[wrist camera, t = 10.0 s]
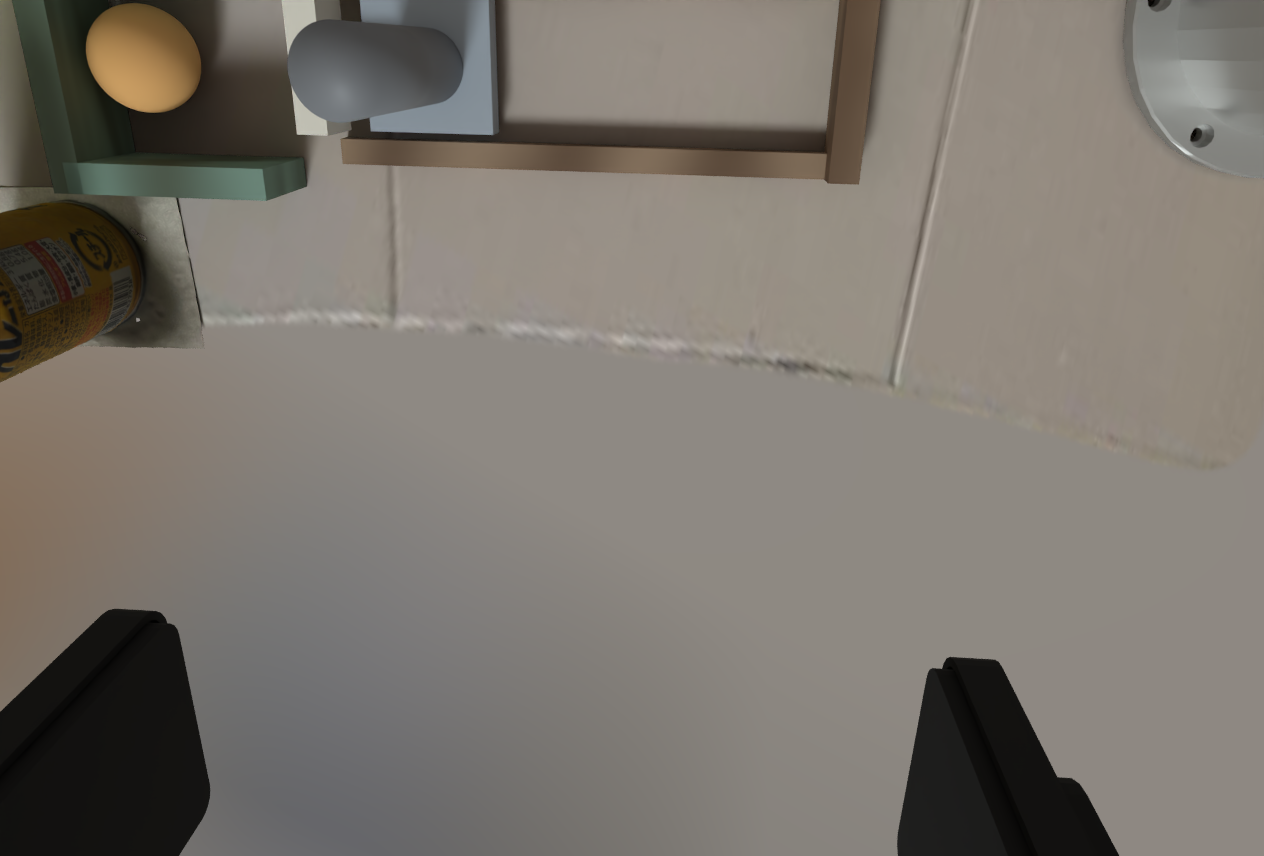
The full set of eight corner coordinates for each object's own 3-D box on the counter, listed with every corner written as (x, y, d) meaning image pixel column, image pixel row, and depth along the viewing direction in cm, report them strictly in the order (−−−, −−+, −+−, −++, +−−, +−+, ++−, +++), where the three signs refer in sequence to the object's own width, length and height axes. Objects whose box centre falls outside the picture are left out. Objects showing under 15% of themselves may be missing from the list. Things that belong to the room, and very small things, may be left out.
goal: (277, -77, 35) (228, -92, 32) (306, 186, 39) (266, 200, 35) (63, -81, 36) (-10, -96, 32) (113, 179, 39) (54, 193, 36)
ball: (200, 6, 37) (181, 2, 33) (215, 110, 39) (199, 116, 35) (92, 2, 36) (61, -2, 33) (112, 109, 38) (84, 116, 34)
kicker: (494, -1, 35) (413, -22, 25) (498, 132, 37) (425, 163, 27) (317, -6, 36) (165, -28, 26) (330, 127, 38) (194, 156, 27)
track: (874, -33, 35) (884, -37, 33) (850, 177, 38) (859, 184, 36) (330, -44, 36) (310, -50, 34) (349, 161, 39) (332, 167, 37)
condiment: (-9, 187, 40) (-276, 239, 29) (176, 186, 40) (-25, 240, 28) (35, 344, 43) (-194, 447, 32) (208, 346, 42) (36, 450, 31)
